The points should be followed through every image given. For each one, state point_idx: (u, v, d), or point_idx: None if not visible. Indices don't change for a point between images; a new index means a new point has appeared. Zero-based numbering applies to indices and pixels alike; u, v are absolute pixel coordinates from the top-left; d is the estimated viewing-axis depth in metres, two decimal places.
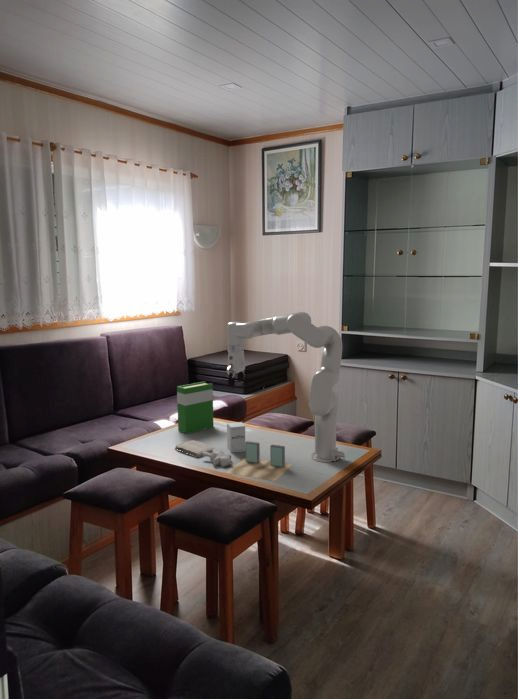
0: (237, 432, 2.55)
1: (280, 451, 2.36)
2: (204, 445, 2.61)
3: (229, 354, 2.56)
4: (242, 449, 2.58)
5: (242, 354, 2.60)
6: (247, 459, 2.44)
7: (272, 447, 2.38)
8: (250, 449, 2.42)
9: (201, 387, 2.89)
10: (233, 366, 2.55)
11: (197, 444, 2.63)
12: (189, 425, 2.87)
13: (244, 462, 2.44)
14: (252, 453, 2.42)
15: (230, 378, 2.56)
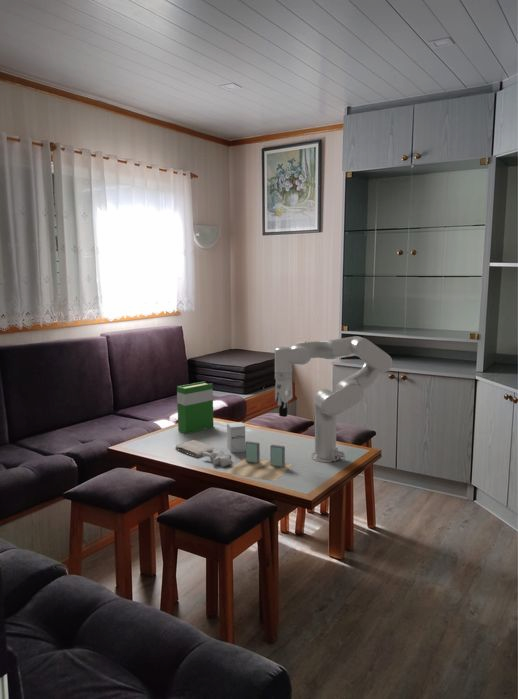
0: (237, 432, 2.55)
1: (280, 451, 2.36)
2: (204, 445, 2.61)
3: (277, 382, 2.36)
4: (242, 449, 2.58)
5: (290, 382, 2.40)
6: (247, 459, 2.44)
7: (272, 447, 2.38)
8: (250, 449, 2.42)
9: (201, 387, 2.89)
10: (281, 395, 2.36)
11: (197, 444, 2.63)
12: (189, 425, 2.87)
13: (244, 462, 2.44)
14: (252, 453, 2.42)
15: (282, 409, 2.40)
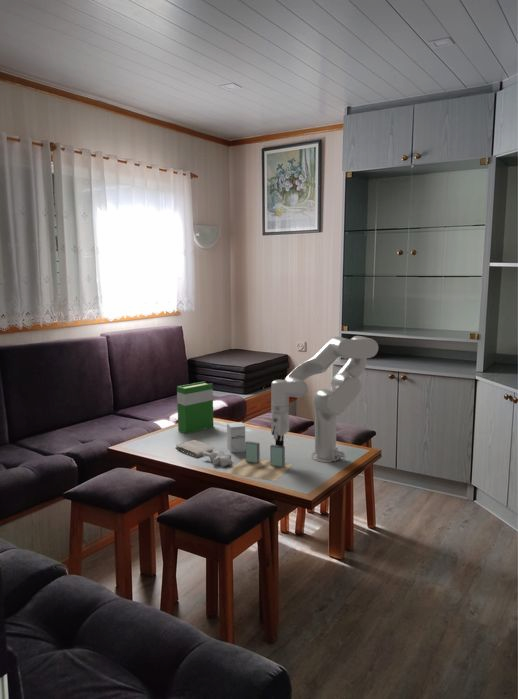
0: (237, 433, 2.55)
1: (280, 451, 2.36)
2: (204, 445, 2.61)
3: (273, 416, 2.35)
4: (242, 449, 2.58)
5: (287, 415, 2.39)
6: (247, 459, 2.44)
7: (272, 447, 2.38)
8: (250, 449, 2.42)
9: (201, 387, 2.89)
10: (277, 429, 2.34)
11: (198, 444, 2.63)
12: (189, 425, 2.87)
13: (244, 462, 2.44)
14: (252, 453, 2.42)
15: (278, 442, 2.39)
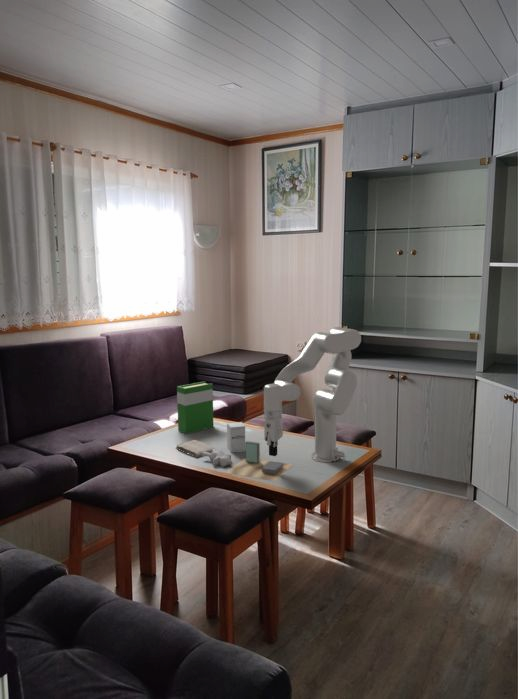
0: (237, 433, 2.55)
1: None
2: (204, 445, 2.61)
3: (266, 421, 2.28)
4: (242, 449, 2.58)
5: (280, 420, 2.32)
6: (247, 459, 2.44)
7: (264, 472, 2.31)
8: (250, 449, 2.42)
9: (201, 387, 2.89)
10: (271, 435, 2.27)
11: (198, 444, 2.63)
12: (189, 425, 2.87)
13: (244, 462, 2.44)
14: (252, 453, 2.42)
15: (271, 448, 2.32)
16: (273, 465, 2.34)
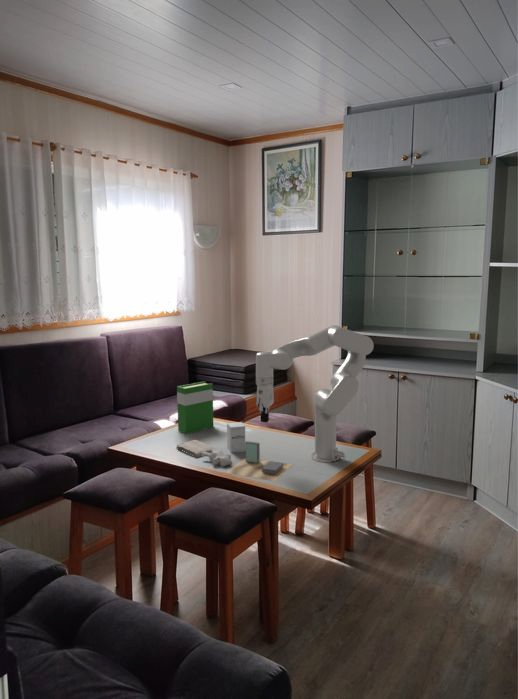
0: (237, 433, 2.55)
1: None
2: (205, 445, 2.61)
3: (258, 388, 2.34)
4: (242, 449, 2.58)
5: (271, 387, 2.38)
6: (247, 459, 2.44)
7: (264, 472, 2.31)
8: (250, 449, 2.42)
9: (201, 387, 2.89)
10: (263, 401, 2.33)
11: (198, 444, 2.63)
12: (189, 425, 2.87)
13: (244, 462, 2.44)
14: (252, 453, 2.42)
15: (263, 414, 2.38)
16: (273, 465, 2.34)
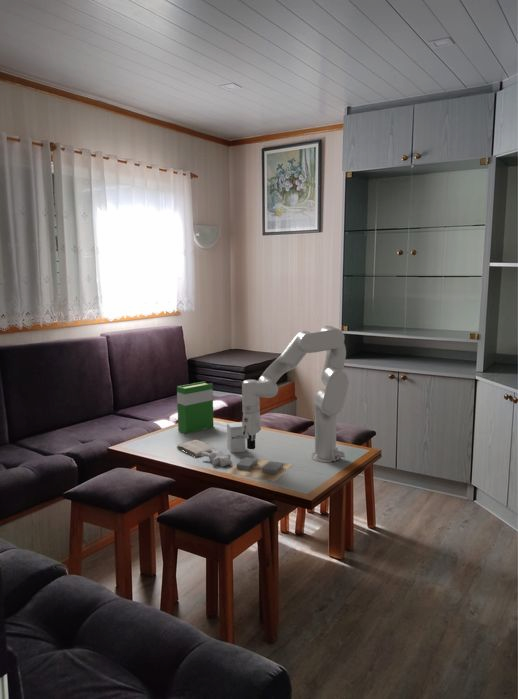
0: (237, 432, 2.55)
1: None
2: (205, 445, 2.61)
3: (244, 415, 2.36)
4: (242, 449, 2.58)
5: (258, 414, 2.40)
6: None
7: (264, 472, 2.31)
8: None
9: (201, 387, 2.89)
10: (248, 429, 2.35)
11: (198, 444, 2.63)
12: (189, 425, 2.87)
13: None
14: None
15: (249, 441, 2.40)
16: (273, 465, 2.34)
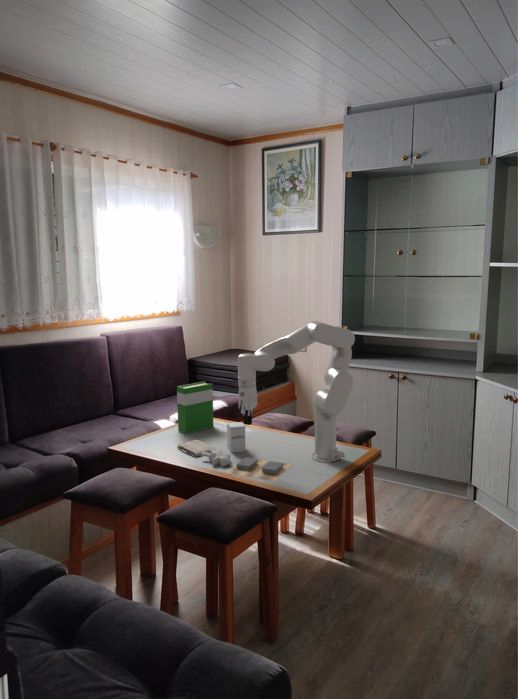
0: (237, 433, 2.55)
1: None
2: (205, 445, 2.61)
3: (240, 390, 2.31)
4: (242, 449, 2.58)
5: (254, 389, 2.35)
6: None
7: (264, 472, 2.31)
8: None
9: (201, 387, 2.89)
10: (245, 403, 2.30)
11: (199, 444, 2.63)
12: (189, 425, 2.87)
13: None
14: None
15: (246, 417, 2.35)
16: (273, 465, 2.34)
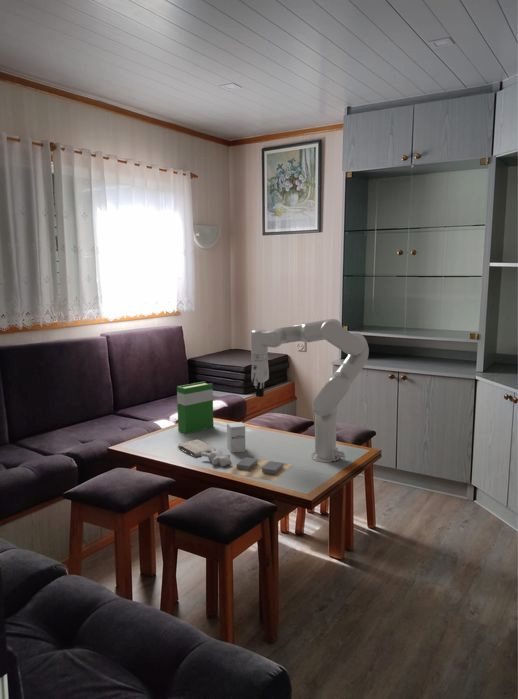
0: (237, 432, 2.55)
1: None
2: (205, 445, 2.61)
3: (253, 363, 2.46)
4: (242, 449, 2.58)
5: (266, 363, 2.50)
6: None
7: (264, 472, 2.31)
8: None
9: (201, 387, 2.89)
10: (257, 376, 2.46)
11: (199, 444, 2.63)
12: (189, 425, 2.87)
13: None
14: None
15: (258, 389, 2.50)
16: (273, 465, 2.34)
